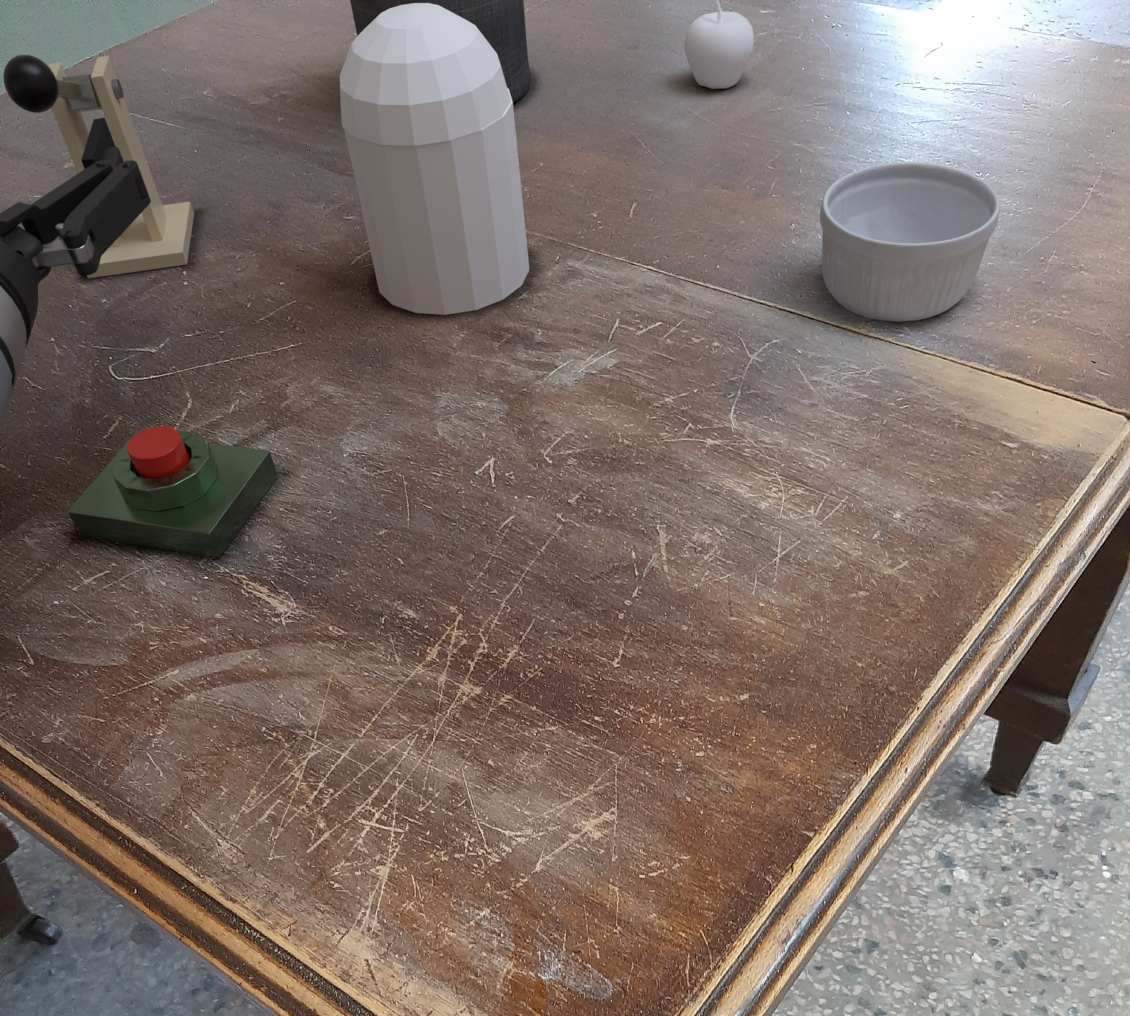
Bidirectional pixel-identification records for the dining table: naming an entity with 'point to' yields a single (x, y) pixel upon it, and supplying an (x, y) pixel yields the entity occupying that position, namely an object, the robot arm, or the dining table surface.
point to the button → (157, 452)
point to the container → (434, 161)
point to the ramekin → (905, 238)
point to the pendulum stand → (159, 227)
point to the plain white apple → (719, 48)
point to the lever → (46, 86)
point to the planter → (497, 16)
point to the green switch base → (177, 499)
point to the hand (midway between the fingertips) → (20, 151)
